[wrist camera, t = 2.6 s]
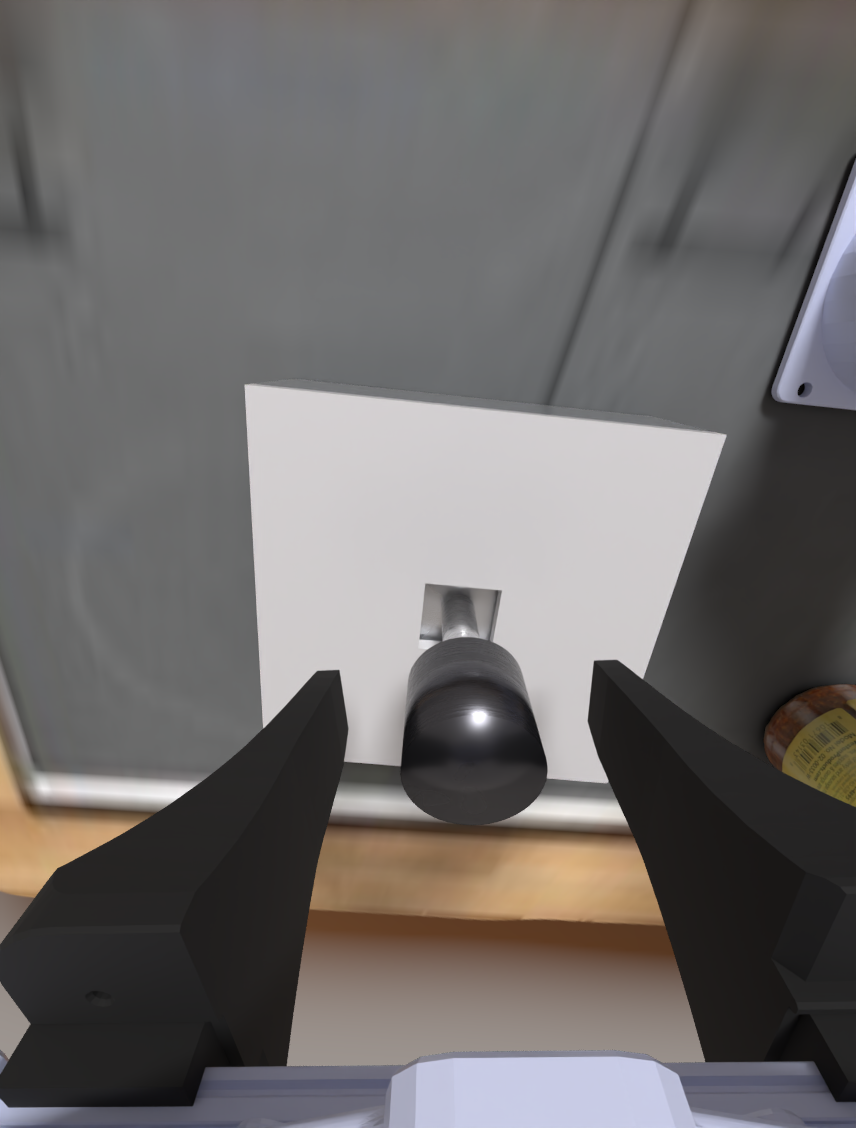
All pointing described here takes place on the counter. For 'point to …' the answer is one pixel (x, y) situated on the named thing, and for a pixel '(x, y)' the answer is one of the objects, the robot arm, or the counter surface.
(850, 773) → the sauce bottle
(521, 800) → the plunger
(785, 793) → the robot arm
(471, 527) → the slotted white block
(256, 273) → the counter surface
